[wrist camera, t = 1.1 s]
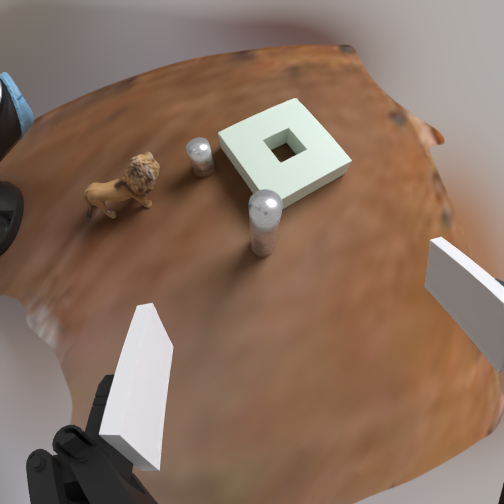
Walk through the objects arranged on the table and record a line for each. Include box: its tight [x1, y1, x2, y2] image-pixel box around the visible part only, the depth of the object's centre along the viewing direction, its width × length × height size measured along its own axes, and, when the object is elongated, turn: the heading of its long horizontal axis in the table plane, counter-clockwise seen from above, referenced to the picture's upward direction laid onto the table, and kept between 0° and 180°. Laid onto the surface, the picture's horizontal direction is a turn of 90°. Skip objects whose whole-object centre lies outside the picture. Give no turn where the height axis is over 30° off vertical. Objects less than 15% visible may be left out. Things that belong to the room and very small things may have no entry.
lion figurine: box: [84, 152, 160, 219], centre depth 39 cm, size 15×5×9 cm, turn 110°
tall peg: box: [248, 189, 283, 257], centre depth 35 cm, size 3×3×14 cm
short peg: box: [186, 138, 215, 177], centre depth 42 cm, size 3×3×6 cm
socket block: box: [218, 98, 352, 209], centre depth 43 cm, size 14×14×4 cm
